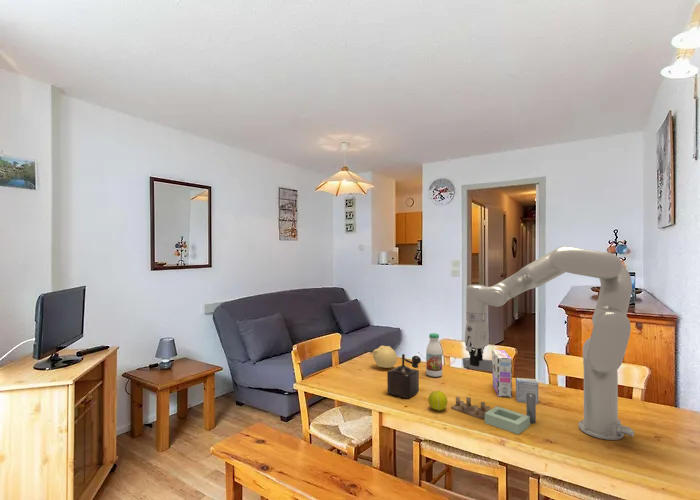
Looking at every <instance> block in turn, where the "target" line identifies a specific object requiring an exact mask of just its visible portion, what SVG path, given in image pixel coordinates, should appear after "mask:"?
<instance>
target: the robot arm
mask: <svg viewBox="0 0 700 500" xmlns="http://www.w3.org/2000/svg"><path fill="white" fill-rule="evenodd" d="M566 273H568V274H573V275H578V276H584V277H591V278H596V279H599V282H600V289H599V293H598V297H597V298H598V299H597V302H596V305H595V307H594V308H595V309H594V312H593V315H592V318H591V321H592V325H593V327H592V331H591V335H590V337H589V338H588V339H586V340H585V342H584V343H583V346H582V358H583V359H582V360H583V361H582V363H583V420H579V422H578V429H579V430H580V431H582V432H583V433H585V434H587V435H589V436H592V437H594V438H597V439H601V440H608V441H619V440H622V439H623V438H624V436H625V435H626V436H629V437H635V436H634V435H635V430H632V427H629V426H626V425H623V424H622V422H621V419H619V418H618V415H619V413H618V412H619V408H618V407H619V401H618V400H619V399H618V397H619V396H618V395H619V393H618V391H619V390H618V389H619V388H618V387H619V384H618V383H619V377H618V375H619V374H618V373H619V372H618V370H619V369H620V367H621V366H622V363H623V361H624V357H625V354H626V350H627V347H628V344H629V340H630V335H631V330H632V325H631V321H630V319H629V317H628V315H627V314H628V312H629V311H628V310H629V306H630V302H631V297H632V292H633V282H632V278H631V275H630V273H629V271H628V269H627V267H626V266H625V265H624V264H623V262H622V260H621V259H620V257H618V256H617V255H616V254H615V253H612V252H607V251H598V250H591V249H583V248H577V247H573V246H568V245H563V246H559V247H557V248H555V249H553V250H551V251H550V252H548V253H546V254H544V255H543V256H541V257H538V259H535V260H533V262H530V263H528V264H526V265H525V266H523V267H521V269H519V270H518V271H517V272H515V273H514V274H512V275H510V276H509V277H507V278H505V279H503V280H501V281H499V282H498V283H496V284H494V285H492V286H485V285H483V284H469V285H467V287H466V294H465V295H466V297H465V298H466V300H465V301H466V303H465V305H466V309H465V310H466V311H465V313H466V316H465V318H466V319H465V320H466V321H465V322H466V323H465V332H464V333H465V335H464V343H465V351H466V352H468V354H469V358H470V365H472V366H476V367H477V366H478V359H483V357H484V355H483V354H484V350H485V348H486V347H487V346H489V344H490V334H489V333H490V332H489V331H490V330H489V323H488V306H491V307H502V306H504V305H505V304H506V303H507V302H508V301H510V300H511V299H513V298H515V297H517V296H518V295H521V294H522V293H524V292H526V291H529V290H531V289H536V288H539V287H541V286H543V285H545V284H546V283H549V282H550V281H552V280H553V279H556V278H557V277H558V278H559V276H561V275H563V274H566Z"/></svg>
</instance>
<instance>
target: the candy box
mask: <svg viewBox="0 0 700 500" xmlns="http://www.w3.org/2000/svg"><path fill="white" fill-rule="evenodd" d="M491 352H492V353H491V356H492V357H491V360H492V363H493V370H492V387H493V389H494V391H495V393H496V395H497V397H501V398H502V397H503V398H512V397H513V387H512V386H513V379H512V378H513V377H512V376H513V374H512V373H513V370H512V369H513V368H512V367H513V363H512V362H513V359H512V357H511V355H510V354H508V352H507V351H506V350H505V349H504V350H503V349H502V350H501V349H492V350H491Z"/></svg>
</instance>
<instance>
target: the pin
mask: <svg viewBox="0 0 700 500" xmlns="http://www.w3.org/2000/svg"><path fill="white" fill-rule="evenodd" d="M525 404H526V408H525V409H526V411H525V412H526V414H525V415H527V416H530V425H535V424H536V423H537V421H536V419H537V416H536V415H537V412H536V411H537V408H536V407H537V404H536V395H535V394H533V393H526V403H525Z"/></svg>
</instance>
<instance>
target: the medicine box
mask: <svg viewBox="0 0 700 500" xmlns="http://www.w3.org/2000/svg"><path fill="white" fill-rule="evenodd" d="M526 393H533V394H535V395H536V405H537V404H538V405H539V403H540V402H539V382H538V381H537V379H535V378H525V377H524V378H523V377H516V378H515V398H516V399H515V400H516V402H517V403H525V404H526Z"/></svg>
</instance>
